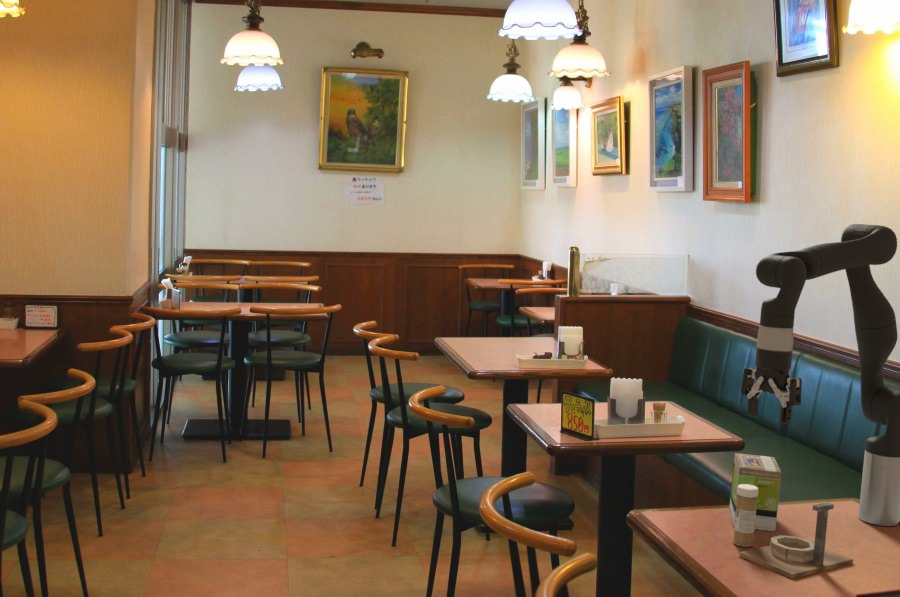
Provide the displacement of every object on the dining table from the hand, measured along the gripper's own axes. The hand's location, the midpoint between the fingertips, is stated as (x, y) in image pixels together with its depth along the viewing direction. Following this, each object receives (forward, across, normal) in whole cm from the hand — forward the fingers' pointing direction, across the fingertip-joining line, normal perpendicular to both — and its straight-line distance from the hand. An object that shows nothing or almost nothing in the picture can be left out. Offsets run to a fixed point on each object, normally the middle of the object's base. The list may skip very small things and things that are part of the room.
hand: (768, 419), depth 222 cm
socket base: (+29, -9, -2) cm, 31 cm away
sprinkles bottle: (+30, +3, +1) cm, 30 cm away
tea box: (+30, +14, -15) cm, 36 cm away
